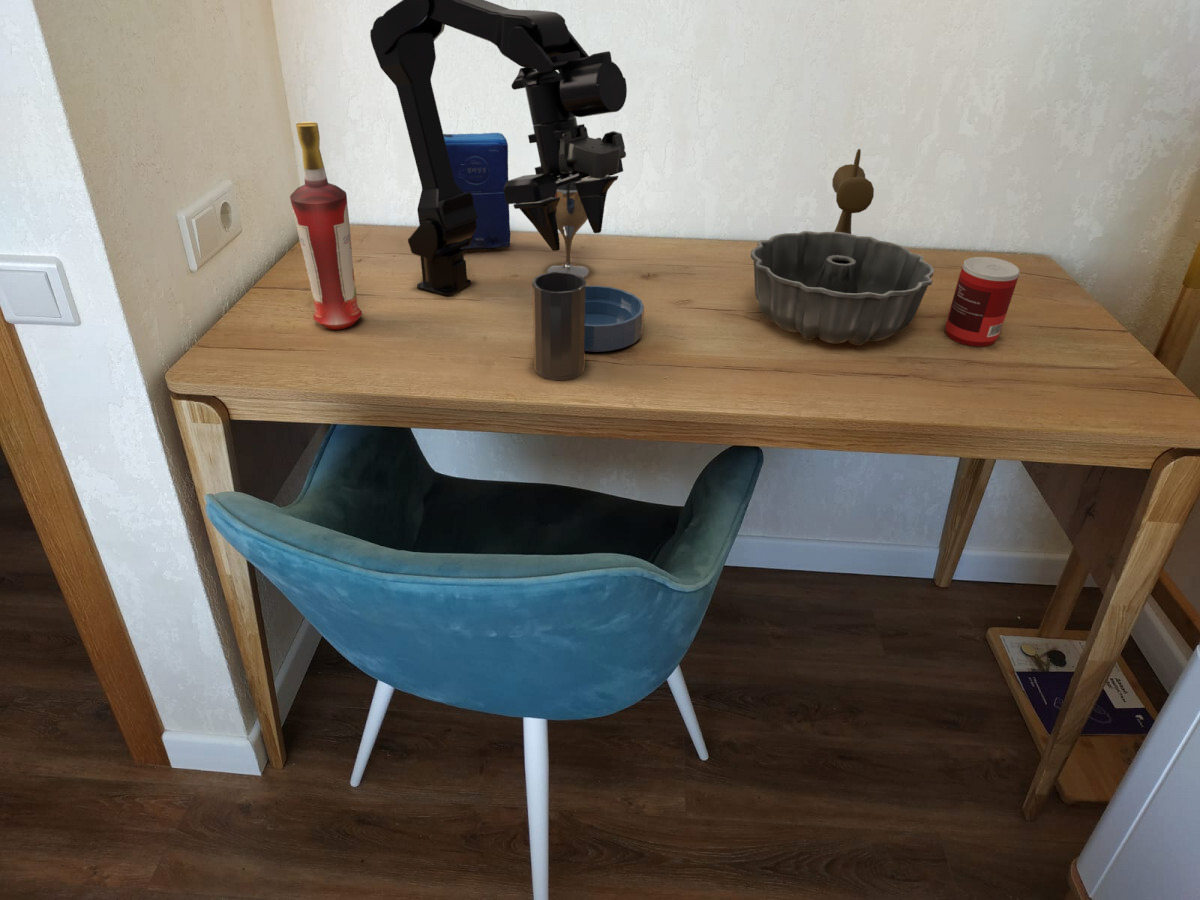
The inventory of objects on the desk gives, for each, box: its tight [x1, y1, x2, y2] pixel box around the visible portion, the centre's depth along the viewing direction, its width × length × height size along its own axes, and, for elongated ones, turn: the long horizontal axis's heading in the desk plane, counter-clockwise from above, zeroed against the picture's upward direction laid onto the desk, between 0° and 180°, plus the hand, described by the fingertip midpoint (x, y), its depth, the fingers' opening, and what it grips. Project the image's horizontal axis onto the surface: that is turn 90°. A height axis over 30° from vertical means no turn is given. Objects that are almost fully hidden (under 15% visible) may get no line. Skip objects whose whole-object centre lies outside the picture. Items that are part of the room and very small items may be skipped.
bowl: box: [585, 285, 645, 353], centre depth 121 cm, size 14×14×4 cm
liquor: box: [289, 121, 363, 331], centre depth 115 cm, size 7×7×28 cm
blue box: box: [443, 132, 511, 253], centre depth 143 cm, size 14×5×20 cm, turn 102°
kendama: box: [831, 148, 875, 234], centre depth 142 cm, size 6×10×20 cm, turn 173°
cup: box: [531, 272, 587, 381], centre depth 109 cm, size 7×7×12 cm
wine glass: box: [546, 179, 590, 278], centre depth 137 cm, size 8×8×15 cm
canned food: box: [945, 256, 1021, 347], centre depth 122 cm, size 8×8×11 cm
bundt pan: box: [750, 230, 935, 346], centre depth 125 cm, size 26×26×10 cm
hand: (577, 241), depth 114 cm, fingers open, 9 cm apart
